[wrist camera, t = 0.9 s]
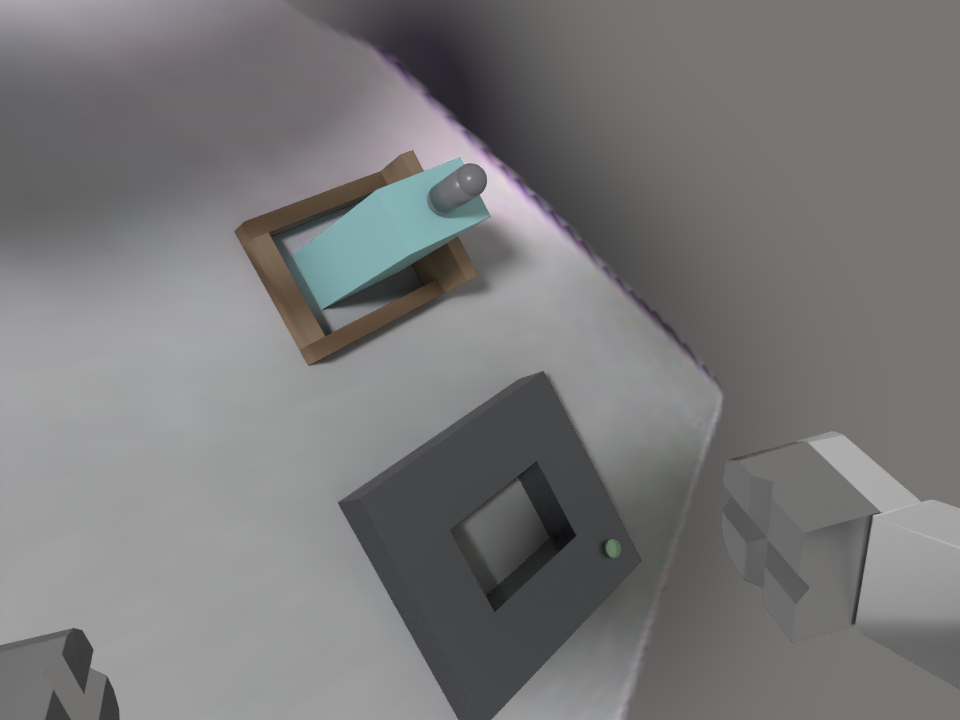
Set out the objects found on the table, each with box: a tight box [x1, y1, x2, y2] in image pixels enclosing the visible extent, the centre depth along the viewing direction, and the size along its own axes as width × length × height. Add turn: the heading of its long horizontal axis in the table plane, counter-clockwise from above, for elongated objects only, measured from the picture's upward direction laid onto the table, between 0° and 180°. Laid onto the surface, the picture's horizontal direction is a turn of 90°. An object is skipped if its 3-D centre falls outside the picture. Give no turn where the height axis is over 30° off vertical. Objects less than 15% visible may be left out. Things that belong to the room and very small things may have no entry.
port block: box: [338, 371, 642, 720], centre depth 50 cm, size 14×16×3 cm
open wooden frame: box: [235, 150, 478, 365], centre depth 48 cm, size 8×11×4 cm
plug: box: [292, 158, 491, 310], centre depth 44 cm, size 4×6×14 cm, turn 126°
